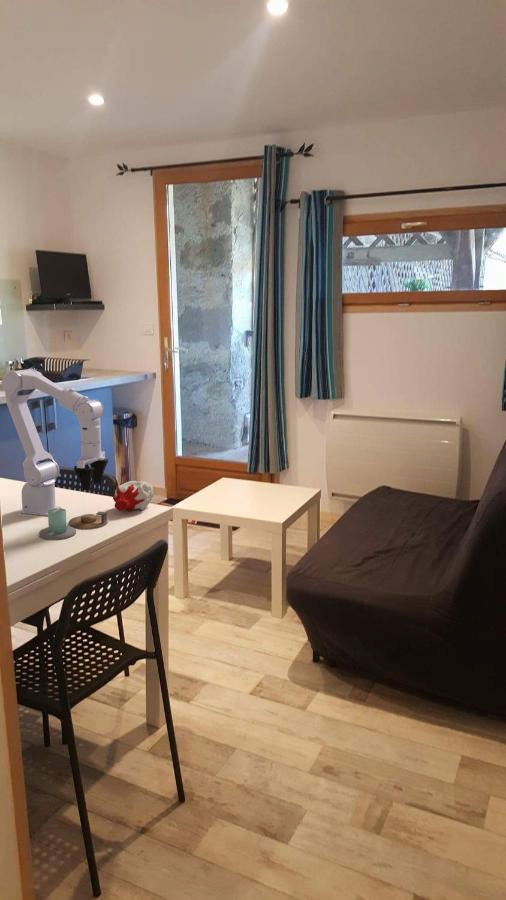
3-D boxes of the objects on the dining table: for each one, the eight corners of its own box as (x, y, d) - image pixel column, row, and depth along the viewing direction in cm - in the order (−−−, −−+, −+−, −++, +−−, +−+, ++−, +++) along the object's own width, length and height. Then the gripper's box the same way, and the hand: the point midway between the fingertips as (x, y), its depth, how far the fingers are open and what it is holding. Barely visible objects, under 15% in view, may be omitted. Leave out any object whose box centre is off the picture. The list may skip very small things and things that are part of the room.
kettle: (54, 527, 187) (54, 506, 185) (69, 529, 185) (69, 508, 184) (42, 534, 181) (41, 512, 179) (57, 536, 179) (56, 514, 178)
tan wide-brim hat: (61, 527, 189) (61, 515, 188) (79, 515, 200) (79, 504, 199) (97, 530, 187) (97, 519, 186) (114, 518, 198) (113, 507, 197)
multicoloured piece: (155, 502, 213) (139, 522, 199) (123, 499, 215) (104, 519, 201) (154, 477, 210) (137, 495, 196) (121, 474, 212) (102, 492, 198)
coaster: (32, 537, 180) (31, 535, 180) (50, 526, 189) (50, 524, 189) (65, 541, 178) (65, 539, 178) (82, 529, 187) (82, 527, 187)
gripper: (92, 447, 183) (93, 494, 186) (113, 437, 197) (114, 481, 200) (69, 445, 185) (71, 491, 188) (92, 436, 199) (93, 479, 202)
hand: (92, 486), depth 194 cm, fingers open, 7 cm apart
